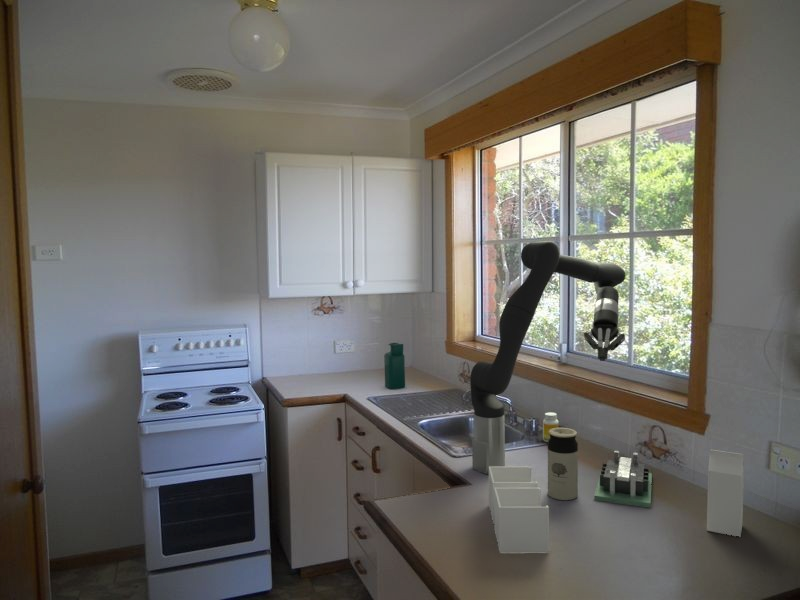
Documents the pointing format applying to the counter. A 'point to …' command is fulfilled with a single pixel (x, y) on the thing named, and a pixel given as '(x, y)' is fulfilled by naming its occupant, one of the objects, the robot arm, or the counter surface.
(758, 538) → the counter surface
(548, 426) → the supplement bottle
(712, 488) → the milk carton
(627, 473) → the retention strap
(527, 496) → the white divided organizer
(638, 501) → the circuit board
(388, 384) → the green bottle
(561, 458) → the travel mug
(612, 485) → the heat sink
